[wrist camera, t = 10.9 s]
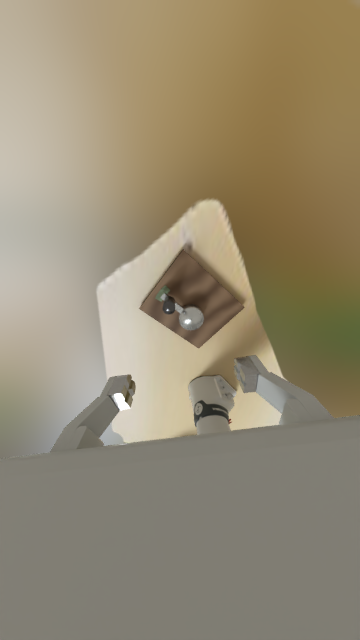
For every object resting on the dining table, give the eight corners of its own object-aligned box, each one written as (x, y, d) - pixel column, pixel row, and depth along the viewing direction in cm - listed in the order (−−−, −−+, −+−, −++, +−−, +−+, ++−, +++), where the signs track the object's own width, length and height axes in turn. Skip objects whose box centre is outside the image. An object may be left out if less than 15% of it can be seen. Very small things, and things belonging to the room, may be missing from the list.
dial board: (242, 305, 42) (244, 307, 40) (198, 345, 49) (198, 348, 47) (183, 249, 34) (183, 249, 33) (140, 306, 41) (139, 309, 40)
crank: (206, 314, 41) (212, 326, 35) (190, 329, 43) (193, 343, 37) (171, 283, 36) (170, 290, 30) (155, 301, 39) (151, 312, 32)
